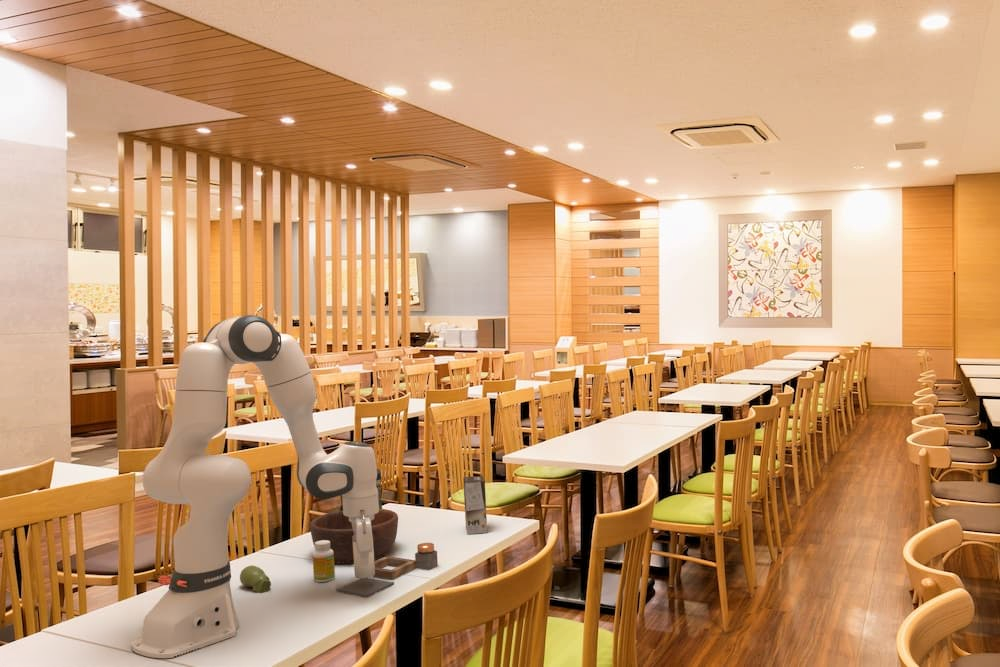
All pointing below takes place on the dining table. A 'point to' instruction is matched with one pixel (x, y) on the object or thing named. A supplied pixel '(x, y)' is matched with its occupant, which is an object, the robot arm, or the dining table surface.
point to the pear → (255, 579)
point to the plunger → (425, 548)
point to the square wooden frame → (404, 565)
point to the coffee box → (475, 504)
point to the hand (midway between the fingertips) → (364, 560)
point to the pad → (365, 587)
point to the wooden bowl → (341, 532)
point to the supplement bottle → (323, 562)
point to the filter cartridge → (360, 570)
